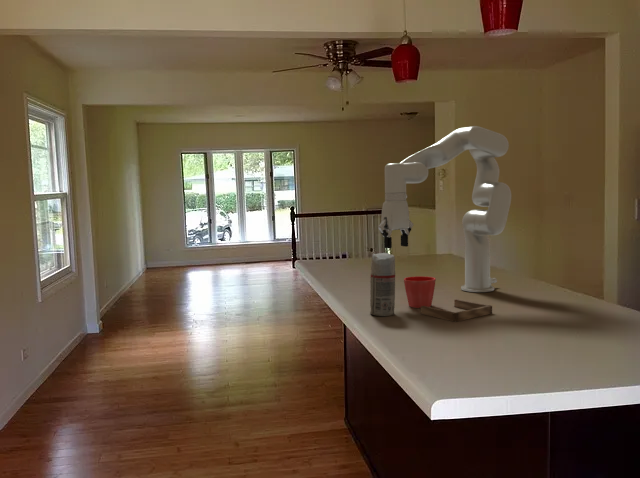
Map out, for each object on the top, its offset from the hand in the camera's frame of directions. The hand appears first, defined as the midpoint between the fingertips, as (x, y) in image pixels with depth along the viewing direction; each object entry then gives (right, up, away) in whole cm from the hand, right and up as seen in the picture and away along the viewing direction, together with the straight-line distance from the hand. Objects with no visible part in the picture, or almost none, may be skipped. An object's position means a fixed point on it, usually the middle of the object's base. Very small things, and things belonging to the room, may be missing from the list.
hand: (396, 246), depth 207 cm
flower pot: (+7, -21, -7) cm, 23 cm away
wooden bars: (+17, -21, -20) cm, 34 cm away
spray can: (-7, -22, -19) cm, 30 cm away
